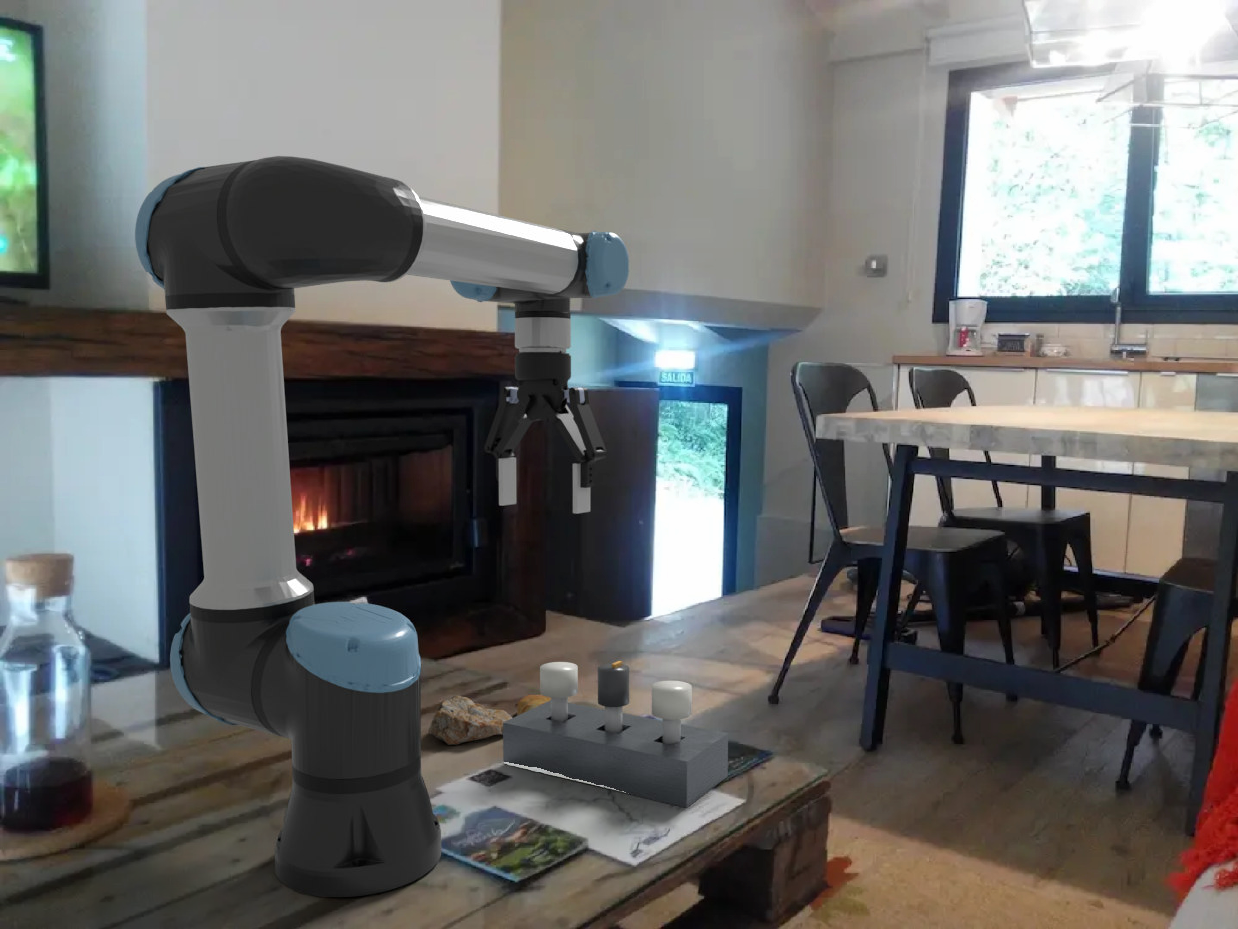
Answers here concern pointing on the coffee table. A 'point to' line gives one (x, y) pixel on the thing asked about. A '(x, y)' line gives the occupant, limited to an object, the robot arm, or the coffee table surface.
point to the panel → (619, 753)
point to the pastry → (531, 702)
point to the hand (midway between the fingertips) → (543, 508)
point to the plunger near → (671, 707)
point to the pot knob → (613, 693)
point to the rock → (466, 721)
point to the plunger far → (559, 687)
